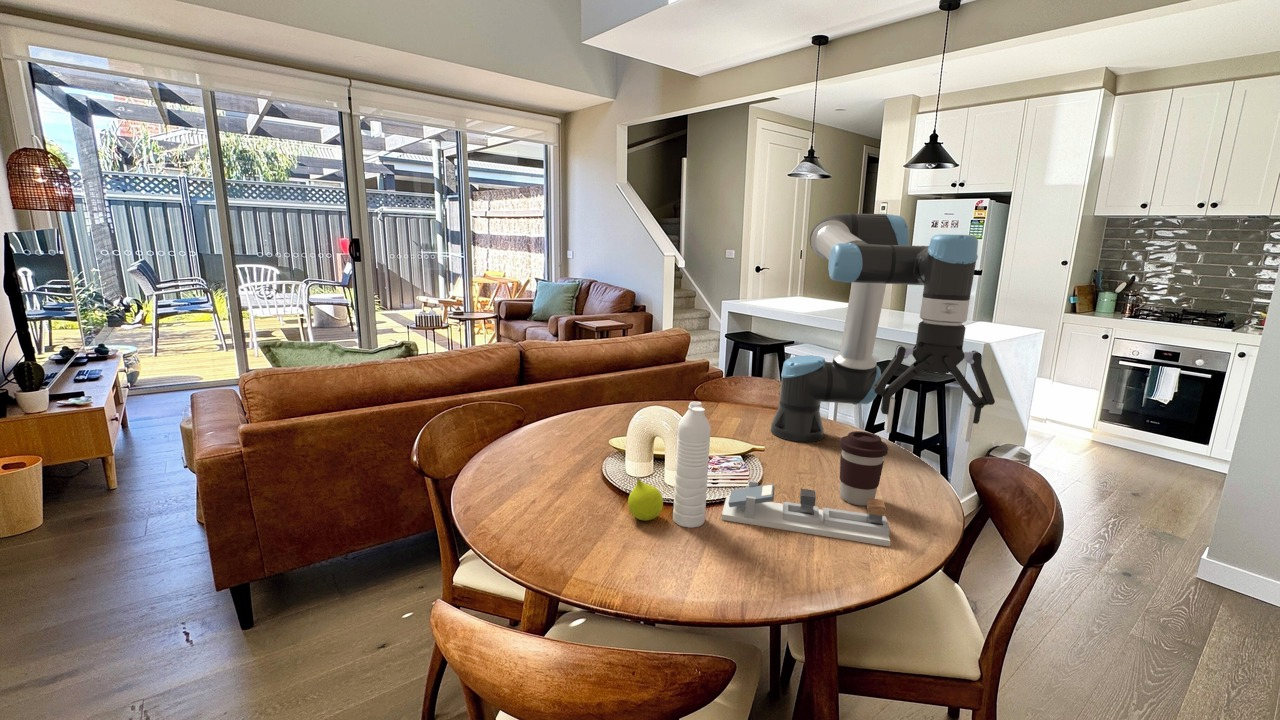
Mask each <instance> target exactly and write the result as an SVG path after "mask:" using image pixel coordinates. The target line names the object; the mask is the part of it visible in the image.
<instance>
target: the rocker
mask: <svg viewBox="0 0 1280 720" xmlns="http://www.w3.org/2000/svg"><path fill="white" fill-rule="evenodd" d="M729 496H730V499H729V507H736V506H743V505H746V496H751V497H756V498H755V504H757V503H764V502H774V500H775V499H774V498H775V485H774V483H767V484H762V485H758V486H754V487H749V486H748V487H743V488H735V489H731V491H730V495H729Z"/></svg>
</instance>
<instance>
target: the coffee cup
mask: <svg viewBox="0 0 1280 720" xmlns="http://www.w3.org/2000/svg"><path fill="white" fill-rule="evenodd" d="M839 448H840V449H841V453H840V457H839V458H840V463H839V480H840V484H839V485H840V487H839V496H840V498H841V499H842V500H843V501H844V502H846V503H848V504H850V505H851V504H852V505H855V506H861V507H864V506H866V507H867V501H868V498H872V499H876V494H877V489H878V487H879V485H880V480H881V476H882V473H883V467H884V457H886V456H887V455H888V451H889V445H888V444H887V443H885V442H883V440H882V438H881V437H880V436H879V435H877V434H874V433H873V432H867V431H861V430H860V431H859V430H856V431H850V432H849V433H848V434H847V435H845V436H842V437H840V438H839Z"/></svg>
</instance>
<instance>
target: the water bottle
mask: <svg viewBox="0 0 1280 720" xmlns="http://www.w3.org/2000/svg"><path fill="white" fill-rule="evenodd" d="M705 414H706V409H705V408H703V406H702V402H701V401H693V400H692V401H689V405H688V410H686V412H685V413H684V415H683V416H682V418H681V419H680V421H679V422H678V424H677V431H676V432H677V438H676V439H677V440H676V441H677V442H676V457H675V459H676V461H675V474H674V490H673V492H674V493H673V496H674V497H673V511H672V520H673V521H674V523H675V524H677V525H678V526H680V527H683V528H684V527H686V528H687V529H689V528H690V529H691V528H692V529H693V528H699V527H700V526H702V525H703V524H705V522H706V505H707V491H708V473H709V461H710V459H709V458H710V456H709V455H710V442H711V432H712V431H711V430H712V429H711V424H710V422H709V420H708V418H707V416H706V415H705Z"/></svg>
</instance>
